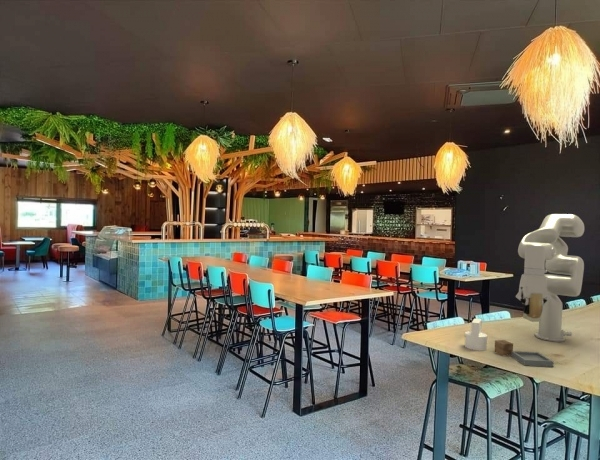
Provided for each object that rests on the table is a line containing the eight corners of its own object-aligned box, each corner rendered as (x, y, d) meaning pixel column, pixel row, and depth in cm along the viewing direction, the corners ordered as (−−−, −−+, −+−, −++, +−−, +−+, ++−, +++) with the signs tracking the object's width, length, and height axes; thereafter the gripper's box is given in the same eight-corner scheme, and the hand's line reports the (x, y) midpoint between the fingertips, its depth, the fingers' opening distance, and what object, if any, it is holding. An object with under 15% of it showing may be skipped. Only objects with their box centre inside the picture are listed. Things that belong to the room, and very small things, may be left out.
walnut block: (504, 351, 174) (504, 340, 174) (512, 355, 170) (513, 343, 169) (494, 351, 173) (494, 340, 173) (502, 355, 168) (503, 344, 168)
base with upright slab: (485, 352, 173) (486, 324, 172) (463, 347, 177) (464, 321, 177) (488, 346, 180) (489, 320, 180) (466, 343, 185) (467, 317, 185)
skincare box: (522, 318, 177) (523, 290, 176) (531, 318, 177) (533, 290, 177) (532, 321, 170) (533, 293, 170) (541, 321, 171) (543, 293, 170)
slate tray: (537, 357, 168) (537, 352, 167) (553, 366, 157) (553, 361, 156) (511, 356, 168) (511, 351, 168) (524, 365, 157) (525, 360, 157)
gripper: (549, 271, 176) (547, 312, 177) (510, 270, 177) (508, 311, 178) (559, 273, 169) (557, 316, 169) (518, 272, 170) (516, 315, 170)
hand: (532, 313), depth 173 cm, fingers closed on skincare box, 4 cm apart
